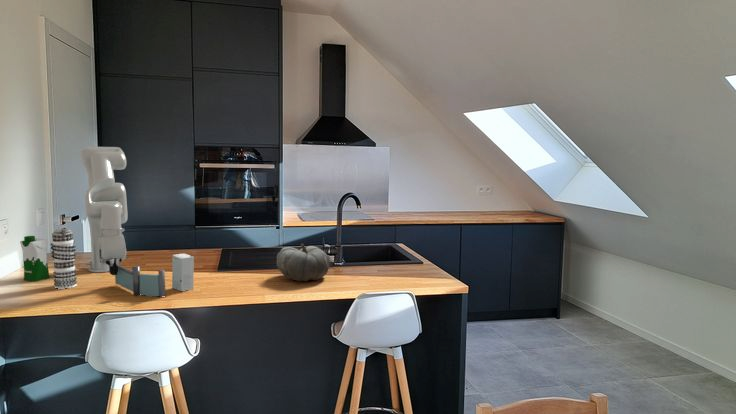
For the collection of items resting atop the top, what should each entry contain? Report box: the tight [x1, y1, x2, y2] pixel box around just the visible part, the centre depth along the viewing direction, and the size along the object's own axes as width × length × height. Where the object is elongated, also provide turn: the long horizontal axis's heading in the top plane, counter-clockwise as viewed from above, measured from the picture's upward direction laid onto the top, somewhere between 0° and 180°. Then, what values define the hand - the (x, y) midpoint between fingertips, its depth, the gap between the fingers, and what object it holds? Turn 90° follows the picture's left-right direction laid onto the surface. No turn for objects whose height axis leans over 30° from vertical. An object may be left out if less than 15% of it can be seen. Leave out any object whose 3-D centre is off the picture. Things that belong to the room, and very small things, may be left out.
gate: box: [114, 264, 133, 292], centre depth 218 cm, size 18×2×8 cm, turn 48°
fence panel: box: [140, 269, 166, 298], centre depth 209 cm, size 11×2×11 cm, turn 81°
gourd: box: [276, 243, 331, 282], centre depth 240 cm, size 25×25×17 cm
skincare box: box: [171, 252, 195, 292], centre depth 220 cm, size 8×6×15 cm
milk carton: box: [19, 235, 51, 282], centre depth 231 cm, size 9×9×20 cm
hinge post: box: [131, 265, 141, 296], centre depth 210 cm, size 3×3×12 cm
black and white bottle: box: [49, 228, 78, 290], centre depth 220 cm, size 9×9×25 cm
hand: (113, 274), depth 219 cm, fingers closed
